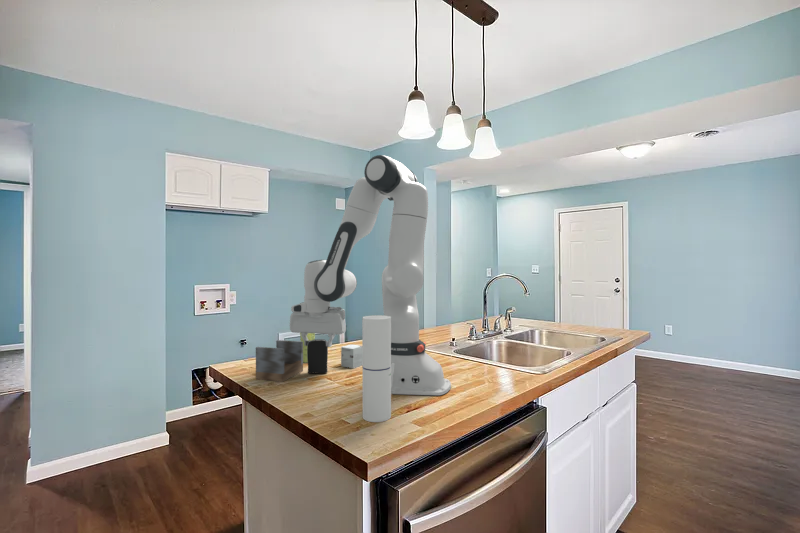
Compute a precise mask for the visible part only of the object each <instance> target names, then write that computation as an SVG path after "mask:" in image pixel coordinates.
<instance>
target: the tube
mask: <svg viewBox="0 0 800 533" xmlns="http://www.w3.org/2000/svg"><path fill="white" fill-rule="evenodd" d="M299 335H300V337H299V338H300V340H299V341H302V342H303V364H308V359H307V346H305V345H304V340H303V338H302V337H301V333H299ZM306 336H307V338H308V340H315V338H316V333H308V335H306Z"/></svg>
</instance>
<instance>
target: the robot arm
mask: <svg viewBox="0 0 800 533" xmlns="http://www.w3.org/2000/svg"><path fill="white" fill-rule="evenodd" d="M387 199H388V200H389V201H393V208H392V215H391V222H390V229H389V230H390V231H389V238H388V259H387V265H386V266H385V267H384V269H383V271H382V273H381V291H382V292H381V294H382V307H383V308H382V309H383V315H384V316H390V317H391V395H414V396H442V395H445V394H447V393H448V392H449V391H450V390H451V388H452V382H451V381H450V379H448V378H445V377H444V375H445V374H444V370H443V367H442V365H441V364H440V362H438V361H437V360H435V359H434V358H433V357H432V356H430V355H429V354H428V353H427V352H426V346H427V345H426V344H427V343H426V341H424V342H423V341H422V340H421V339H420V313H419V310H418V309H419V308H418V301H417V294H418V293H420V291H421V289H422V288H423V285H424V269H425V268H424V266H425V265H424V263H425V256H424V254H425V253H424V252H425V250H424V249H425V248H424V247H425V238H426V230H427V222H428V213H429V194H428V190H427V188H426V186H424V185H423V184H422V183H419V180H418V178H417V176H416V174H415V173H414V171H412V170H411V169H409V168H407V166H405V165H404V164H403V163H402V162H399V160H396V159H393V158H392V157H390V156H387V155H384V154H383V155H382V154H378V155H374V156H372V157H371V158H370V159H368V161H367V162H366V164H365V167H364V176H363V177H360V178H358V179H357V180H356V182H355V183H354V185H353V187H352V189H351V191H350V194H349V196H348V199H347V202H346V205H345V208H344V212H343V216H342V218H341V222H340V224H339V227H338V230H337V232H336V235H335V237H334V239H333V241H332V245H331V248H330V250H329V253H328V255H327V259H317V260H312V261H309V262H308V263H307V264H306V265H305V268H304V274H303V288H304V292H305V293H304V298H303V299H304V300H303V302H299V303H298V304H294V305H291V308H290V311H291V312H292V313H291V314H290V317H289V330H290V331H291V333H294V334H295V333H296V334H298V333H299V334H300V333H301V337H302V338H303V340H304V345H305V346H307V344H308V342H309V341H310V340H308V338H307V336H306V335H308V333H315V335H316V334H317V335H321V334H322V335H328V338H329V339H328V340H326V341H327V342H326V347H328V348H331V347H332V346H333V340H334V339H335V337H336V335H338V336H339V335H343V334H345V333H346V331H347V325H346V311H345V309H343V308H342V307H340V306H331V302H335V301H337V300H339V299H342V298H345V297H348V296H350V295H352V294H353V293H354V292H355V291H356V289H357V285H358V284H357V283H358V280H357V278H356V276H355V274H354V272H352V271H350V270H348V269H346V267H347V264H348V261H349V258H350V256H351V253H352V250H353V249H354V246H355V245H356V244H357V243H358V242H360V240H362V239H363V238H365V237H367V236H368V235H369V234H371V232H372V231H373V229H374V227H375V224H376V222H377V218H378V216H379V212H380V208H381V205H382V203H383V202H384V200H387Z"/></svg>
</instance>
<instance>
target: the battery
mask: <svg viewBox="0 0 800 533" xmlns="http://www.w3.org/2000/svg"><path fill="white" fill-rule="evenodd" d="M327 341H328V340H326V339H322V338H321V339H320V338H317V339H315V340H310V341H309V342H308V344H307V359H308V363H307V374H324V373H325V374H326V373H328V359H329V358H328V355H329V347H326V342H327Z"/></svg>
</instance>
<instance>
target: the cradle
mask: <svg viewBox="0 0 800 533" xmlns="http://www.w3.org/2000/svg"><path fill="white" fill-rule="evenodd" d="M275 342H276V345H275V346H276V347H265V346H256V347H255V380H259V381H268V382H269V381H271V382H281V383H283V382H284V381H287V380H289V379H290V378H292V377H294V376H297V375H298V374H300V373H302V372H304V363H303V342H302V341H301V340H283V339H278V340H276V341H275Z"/></svg>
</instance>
